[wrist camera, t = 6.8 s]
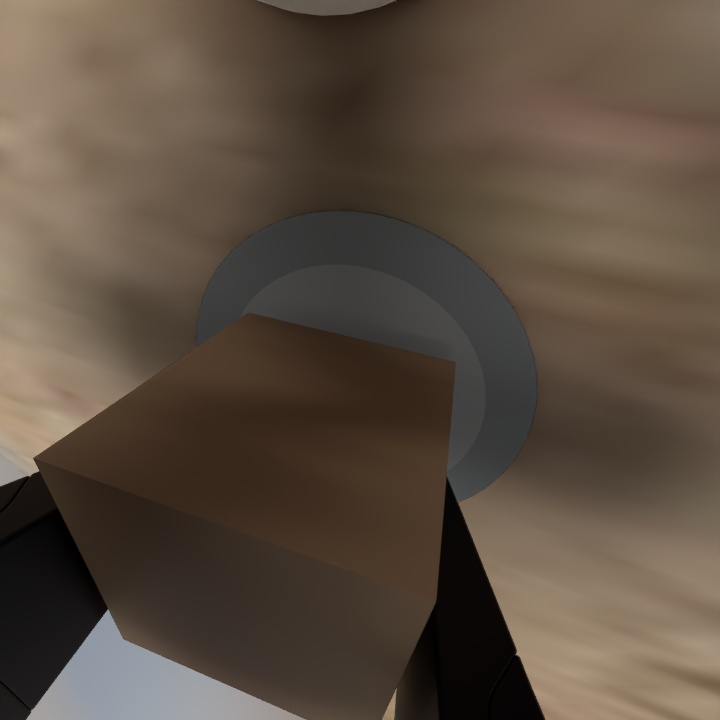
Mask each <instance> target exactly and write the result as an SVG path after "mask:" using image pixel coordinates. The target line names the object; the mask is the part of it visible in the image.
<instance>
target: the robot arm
mask: <svg viewBox="0 0 720 720" xmlns="http://www.w3.org/2000/svg"><path fill="white" fill-rule="evenodd" d="M107 610H108V607H107V605H106V603H105V601H104V599H103V597H102V595H101V593H100V591H99V589H98V587H97V585H96V583H95V581H94V579H93V577H92V575H91V573H90V571H89V569H88V567H87V565H86V563H85V561H84V559H83V557H82V555H81V553H80V551H79V549H78V547H77V545H76V543H75V541H74V539H73V537H72V535H71V533H70V531H69V529H68V527H67V525H66V523H65V521H64V519H63V517H62V515H61V513H60V511H59V509H58V507H57V505H56V503H55V501H54V499H53V497H52V495H51V493H50V491H49V489H48V487H47V485H46V483H45V481H44V479H43V477H42V475H41V473H40V471H39V472H36V473H34V474H32V475H31V476H26V477H23V478H21V479H18V480H16V481H13V482H10V483H8V484H6V485H3V486H0V720H26V719H27V717H28V716H29V715H30V713H31V710H32V709H33V708H35V706H36V705H37V703H38V702H39V701H40V699H41V698H42V697H43V695H44V694H45V693H46V691H47V690H48V689H49V687H50V686H51V684H52V683H53V682H54V681H55V679H56V678H57V677H58V675H59V674H60V673H61V671H62V670H63V669H64V667H65V666H66V665H67V663H68V662H69V661H70V659H71V658H72V657H73V655H74V654H75V653H76V651H77V650H78V649H79V647H80V646H81V645H82V643H83V642H84V640H85V639H86V638H87V637H88V635H89V634H90V632H91V631H92V629H93V628H94V627H95V626H96V624H97V623H98V622H99V620H100V619H101V618H102V616H103V615H104V614H105V612H106V611H107ZM516 653H517V650H516V647H515V644H514V642H513V639H512V637H511V634H510V632H509V629H508V627H507V624H506V622H505V619H504V617H503V614H502V612H501V609H500V607H499V604H498V602H497V599H496V597H495V594H494V592H493V589H492V587H491V584H490V582H489V579H488V577H487V574H486V572H485V569H484V567H483V564H482V562H481V559H480V557H479V554H478V552H477V549H476V547H475V544H474V542H473V539H472V537H471V534H470V532H469V529H468V527H467V524H466V522H465V519H464V517H463V514H462V512H461V509H460V507H459V504H458V502H457V499H456V497H455V494H454V492H453V489H452V487H451V484H450V482H449V479H448V478H447V477H446V489H445V501H444V513H443V525H442V538H441V550H440V562H439V574H438V586H437V598H436V603H435V605H434V607H433V610H432V612H431V614H430V616H429V618H428V620H427V623H426V625H425V627H424V629H423V631H422V633H421V636H420V638H419V640H418V642H417V644H416V646H415V649H414V651H413V653H412V655H411V657H410V659H409V662H408V664H407V666H406V668H405V670H404V672H403V675H402V677H401V679H400V681H399V683H398V685H397V691H396V704H395V717H394V720H545V717H544V715H543V713H542V710H541V708H540V706H539V703H538V701H537V698H536V696H535V694H534V691H533V689H532V687H531V684H530V682H529V679H528V677H527V674H526V672H525V669H524V667H523V664H522V661H521V659H520V657H519V656H518V655H516Z"/></svg>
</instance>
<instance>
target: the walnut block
mask: <svg viewBox="0 0 720 720" xmlns="http://www.w3.org/2000/svg"><path fill="white" fill-rule="evenodd" d="M455 368H456V362H454V361H450V360H446V359H442V358H438V357H433V356H429V355H425V354H421V353H417V352H412V351H408V350H404V349H400V348H396V347H391V346H387V345H383V344H379V343H375V342H370V341H366V340H362V339H358V338H354V337H349V336H345V335H341V334H337V333H333V332H328V331H324V330H320V329H316V328H312V327H308V326H303V325H299V324H295V323H291V322H287V321H282V320H278V319H274V318H270V317H266V316H261V315H257V314H253V313H249V312H248V313H247V314H245V315H244V316H242V317H241V318H239V319H238V320H236V321H235V322H233V323H232V324H230V325H229V326H228V327H226V328H225V329H223V330H222V331H220V332H219V333H217V334H216V335H214V336H213V337H211V338H210V339H208V340H207V341H205V342H204V343H202V344H201V345H199V346H198V347H197V348H195V349H194V350H192V351H191V352H189V353H188V354H186V355H185V356H183V357H182V358H180V359H179V360H177V361H176V362H174V363H173V364H171V365H170V366H168V367H167V368H166V369H164V370H163V371H161V372H160V373H158V374H157V375H155V376H154V377H152V378H151V379H149V380H148V381H146V382H145V383H143V384H142V385H140V386H139V387H138V388H136V389H135V390H133V391H132V392H130V393H129V394H127V395H126V396H124V397H123V398H121V399H120V400H118V401H117V402H115V403H114V404H112V405H111V406H109V407H108V408H107V409H105V410H104V411H102V412H101V413H99V414H98V415H96V416H95V417H93V418H92V419H90V420H89V421H87V422H86V423H84V424H83V425H81V426H80V427H78V428H77V429H76V430H74V431H73V432H71V433H70V434H68V435H67V436H65V437H64V438H62V439H61V440H59V441H58V442H56V443H55V444H53V445H52V446H50V447H49V448H47V449H46V450H45V451H43V452H42V453H40V454H39V455H37V456H36V457H34V458H33V459H34V461H35V463H36V465H37V467H38V469H39V471H40V473H41V475H42V477H43V479H44V481H45V483H46V485H47V487H48V489H49V491H50V493H51V495H52V497H53V499H54V501H55V503H56V505H57V507H58V509H59V511H60V513H61V515H62V517H63V519H64V521H65V523H66V525H67V527H68V529H69V531H70V533H71V535H72V537H73V539H74V541H75V543H76V545H77V547H78V549H79V551H80V553H81V555H82V557H83V559H84V561H85V563H86V565H87V567H88V569H89V571H90V573H91V575H92V577H93V579H94V581H95V583H96V585H97V587H98V589H99V591H100V593H101V595H102V597H103V599H104V601H105V603H106V605H107V607H108V609H109V611H110V613H111V615H112V617H113V619H114V621H115V623H116V625H117V627H118V629H119V631H120V633H121V635H122V637H123V639H124V640H127V641H129V642H131V643H133V644H136V645H138V646H140V647H143V648H145V649H147V650H149V651H152V652H154V653H156V654H158V655H161V656H163V657H165V658H168V659H170V660H172V661H174V662H177V663H179V664H181V665H184V666H186V667H188V668H190V669H193V670H195V671H197V672H199V673H202V674H204V675H206V676H208V677H211V678H213V679H215V680H218V681H220V682H222V683H225V684H227V685H229V686H231V687H234V688H236V689H238V690H240V691H243V692H245V693H247V694H249V695H252V696H254V697H256V698H259V699H261V700H263V701H265V702H268V703H270V704H272V705H275V706H277V707H279V708H282V709H284V710H286V711H288V712H290V713H293V714H295V715H298V716H300V717H302V718H304V719H306V720H382V718H383V716H384V714H385V711H386V709H387V707H388V705H389V703H390V701H391V698H392V696H393V694H394V692H395V690H396V688H397V685H398V683H399V681H400V679H401V677H402V675H403V672H404V670H405V668H406V666H407V664H408V662H409V659H410V657H411V655H412V653H413V651H414V649H415V646H416V644H417V642H418V640H419V638H420V636H421V633H422V631H423V629H424V627H425V625H426V623H427V620H428V618H429V616H430V614H431V612H432V610H433V607H434V605H435V603H436V598H437V586H438V574H439V562H440V550H441V538H442V525H443V513H444V501H445V489H446V477H447V465H448V453H449V440H450V428H451V416H452V404H453V392H454V380H455Z"/></svg>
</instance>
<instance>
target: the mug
mask: <svg viewBox="0 0 720 720" xmlns="http://www.w3.org/2000/svg"><path fill="white" fill-rule="evenodd" d="M257 1H260V2H263V3H266V4H269V5H272V6H275V7H278V8H281V9H284V10H288V11H291V12H297V13H304V14H312V15H319V16H327V15H345V14H353V13H357V12H362V11H366V10H370V9H374V8H378V7H382V6H384V5H386V4H389V3H391V2H393V1H396V0H257Z"/></svg>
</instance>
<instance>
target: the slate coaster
mask: <svg viewBox="0 0 720 720" xmlns="http://www.w3.org/2000/svg"><path fill="white" fill-rule="evenodd" d="M248 312H249V313H253V314H257V315H261V316H266V317H270V318H274V319H278V320H282V321H287V322H291V323H295V324H299V325H303V326H308V327H312V328H316V329H320V330H324V331H328V332H333V333H337V334H341V335H345V336H349V337H354V338H358V339H362V340H366V341H370V342H375V343H379V344H383V345H387V346H391V347H396V348H400V349H404V350H408V351H412V352H417V353H421V354H425V355H429V356H433V357H438V358H442V359H446V360H450V361H454V362H456V368H455V380H454V392H453V404H452V416H451V428H450V440H449V453H448V465H447V478H448V479H449V482H450V484H451V487H452V489H453V492H454V494H455V497H456V499H457V502H460V501H463V500H465V499H467V498H469V497H471V496H473V495H475V494H476V493H478V492H479V491H481V490H483V489H484V488H486V487H487V486H489V485H490V484H491V483H492V482H493V481H494V480H496V479H497V478H498V477H499V476H500V475H501V474H503V472H504V471H505V470H506V469H507V468H508V467H509V465H510V464H511V463H512V462H513V461H514V459H515V458H516V456H517V455H518V453H519V451H520V450H521V448H522V446H523V445H524V443H525V441H526V438H527V436H528V433H529V430H530V428H531V425H532V422H533V417H534V412H535V407H536V400H537V377H536V370H535V363H534V357H533V354H532V350H531V347H530V344H529V341H528V338H527V335H526V332H525V330H524V328H523V326H522V324H521V322H520V320H519V318H518V316H517V314H516V312H515V310H514V308H513V306H512V305H511V304H510V302H509V301H508V299H507V298H506V297H505V295H504V294H503V292H502V291H501V290H500V288H499V287H498V285H497V284H496V283H495V282H494V281H493V280H492V279H491V278H490V277H489V276H488V275H487V274H486V273H485V272H484V271H483V270H482V269H481V268H480V267H479V266H478V264H476V263H475V262H474V261H472V260H471V259H470V258H469V257H467V256H466V255H465V254H463V253H462V252H461V251H460V250H458V249H457V248H456V247H454V246H453V245H451V244H449V243H448V242H446V241H444V240H442V239H441V238H439V237H437V236H435V235H434V234H432V233H430V232H429V231H426V230H424V229H421V228H419V227H416V226H414V225H411V224H409V223H406V222H404V221H401V220H398V219H394V218H390V217H386V216H382V215H378V214H374V213H365V212H355V211H345V210H343V211H322V212H314V213H309V214H304V215H299V216H294V217H290V218H288V219H285V220H282V221H280V222H277V223H274V224H272V225H269V226H267V227H265V228H264V229H262V230H260V231H258V232H257V233H255V234H253V235H251V236H250V237H248V238H247V239H246V240H245V241H243V242H242V243H241V244H240V245H239V246H237V247H236V248H235V249H234V250H233V251H231V253H230V254H229V255H228V256H227V257H226V259H225V260H224V261H223V262H222V263H221V264H220V266H219V267H218V268H217V270H216V272H215V273H214V275H213V277H212V279H211V280H210V282H209V284H208V286H207V289H206V291H205V294H204V296H203V299H202V302H201V306H200V311H199V316H198V322H197V337H196V338H197V347H198V346H199V345H201V344H202V343H204V342H205V341H207V340H208V339H210V338H211V337H213V336H214V335H216V334H217V333H219V332H220V331H222V330H223V329H225V328H226V327H228V326H229V325H230V324H232V323H233V322H235V321H236V320H238V319H239V318H241V317H242V316H244V315H245V314H247V313H248Z"/></svg>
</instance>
